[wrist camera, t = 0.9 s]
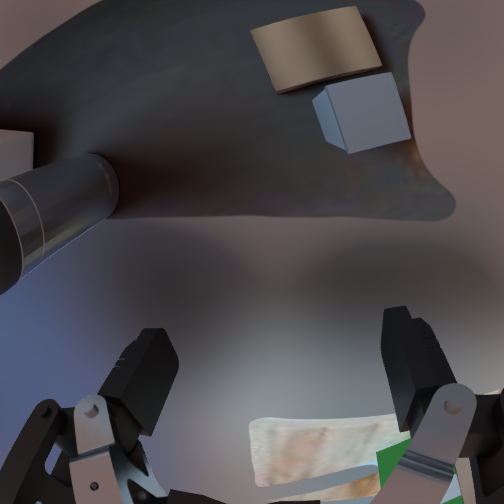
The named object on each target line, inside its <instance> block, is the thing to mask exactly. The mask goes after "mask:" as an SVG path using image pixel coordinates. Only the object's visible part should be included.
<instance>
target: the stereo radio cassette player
mask: <svg viewBox="0 0 504 504" xmlns="http://www.w3.org/2000/svg"><path fill="white" fill-rule="evenodd" d="M33 144H34V133H32V132H24V131H13V130H2V129H0V182H1V181H3V180H6V179H8V178H11V177H13V176H16V175H19V174H22V173H24V172H27V171H30V170H33Z"/></svg>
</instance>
